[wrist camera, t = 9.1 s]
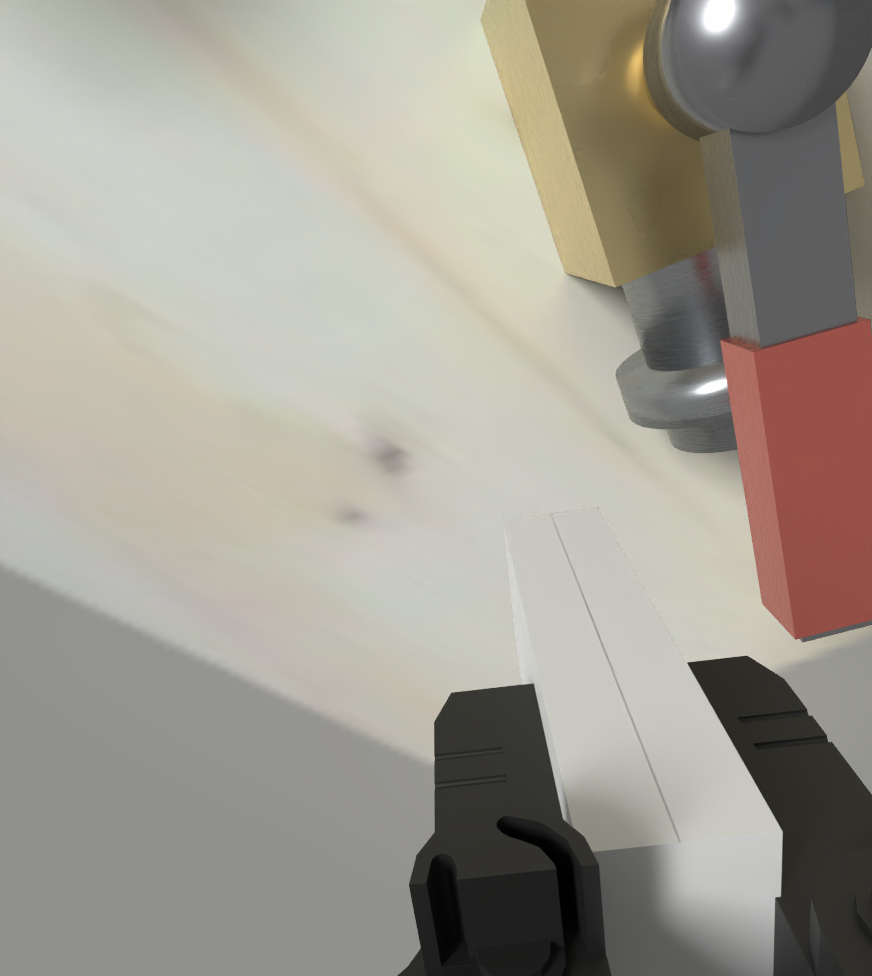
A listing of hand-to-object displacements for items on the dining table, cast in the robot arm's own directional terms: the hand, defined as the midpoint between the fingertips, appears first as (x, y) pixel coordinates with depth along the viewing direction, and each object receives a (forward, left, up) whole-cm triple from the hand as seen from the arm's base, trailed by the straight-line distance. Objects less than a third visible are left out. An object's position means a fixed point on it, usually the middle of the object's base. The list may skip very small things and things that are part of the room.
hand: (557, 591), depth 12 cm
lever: (-7, -1, -7) cm, 10 cm away
